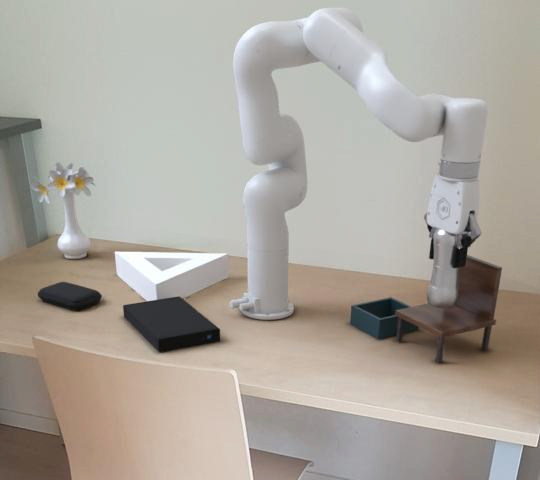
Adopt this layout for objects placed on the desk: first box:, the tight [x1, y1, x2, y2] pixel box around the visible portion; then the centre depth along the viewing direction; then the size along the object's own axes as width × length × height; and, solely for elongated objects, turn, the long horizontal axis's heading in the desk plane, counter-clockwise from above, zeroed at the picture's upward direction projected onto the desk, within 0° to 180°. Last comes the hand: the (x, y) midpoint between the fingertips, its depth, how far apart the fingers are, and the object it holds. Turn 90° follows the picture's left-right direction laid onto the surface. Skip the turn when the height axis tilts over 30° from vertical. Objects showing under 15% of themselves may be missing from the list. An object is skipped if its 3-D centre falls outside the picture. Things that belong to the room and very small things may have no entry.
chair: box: [395, 254, 503, 364], centre depth 166 cm, size 15×15×18 cm
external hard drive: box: [122, 296, 221, 353], centre depth 177 cm, size 14×23×3 cm, turn 28°
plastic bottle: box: [426, 229, 464, 308], centre depth 160 cm, size 6×7×20 cm
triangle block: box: [114, 251, 230, 302], centre depth 203 cm, size 30×26×6 cm
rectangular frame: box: [349, 296, 420, 340], centre depth 179 cm, size 12×11×4 cm
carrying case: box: [37, 281, 103, 311], centre depth 192 cm, size 11×3×15 cm
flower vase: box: [29, 160, 96, 260], centre depth 217 cm, size 13×18×25 cm
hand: (446, 261), depth 161 cm, fingers closed on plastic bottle, 6 cm apart
